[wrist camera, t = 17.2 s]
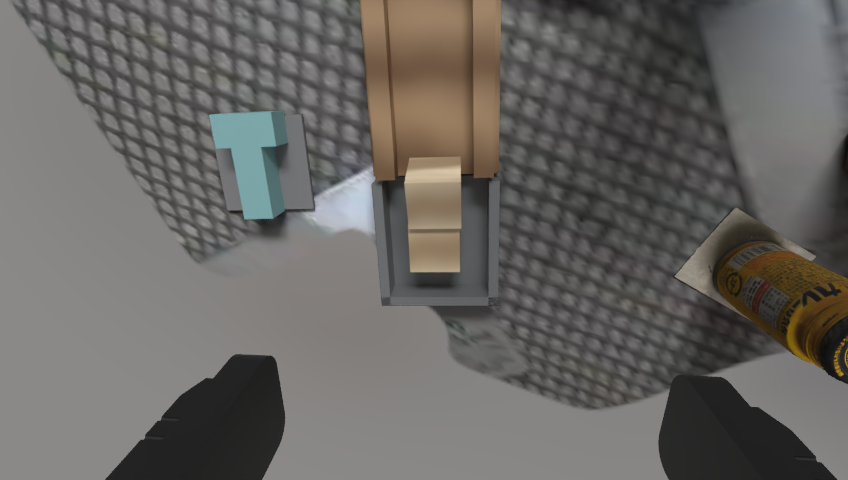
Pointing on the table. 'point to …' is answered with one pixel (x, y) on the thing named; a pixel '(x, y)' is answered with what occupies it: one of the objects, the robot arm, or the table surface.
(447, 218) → the tan wooden cube
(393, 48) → the slot board
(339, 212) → the table surface
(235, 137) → the teal t-shaped block
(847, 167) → the beer bottle
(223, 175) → the mat
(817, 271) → the condiment
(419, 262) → the tan block
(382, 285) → the tray
